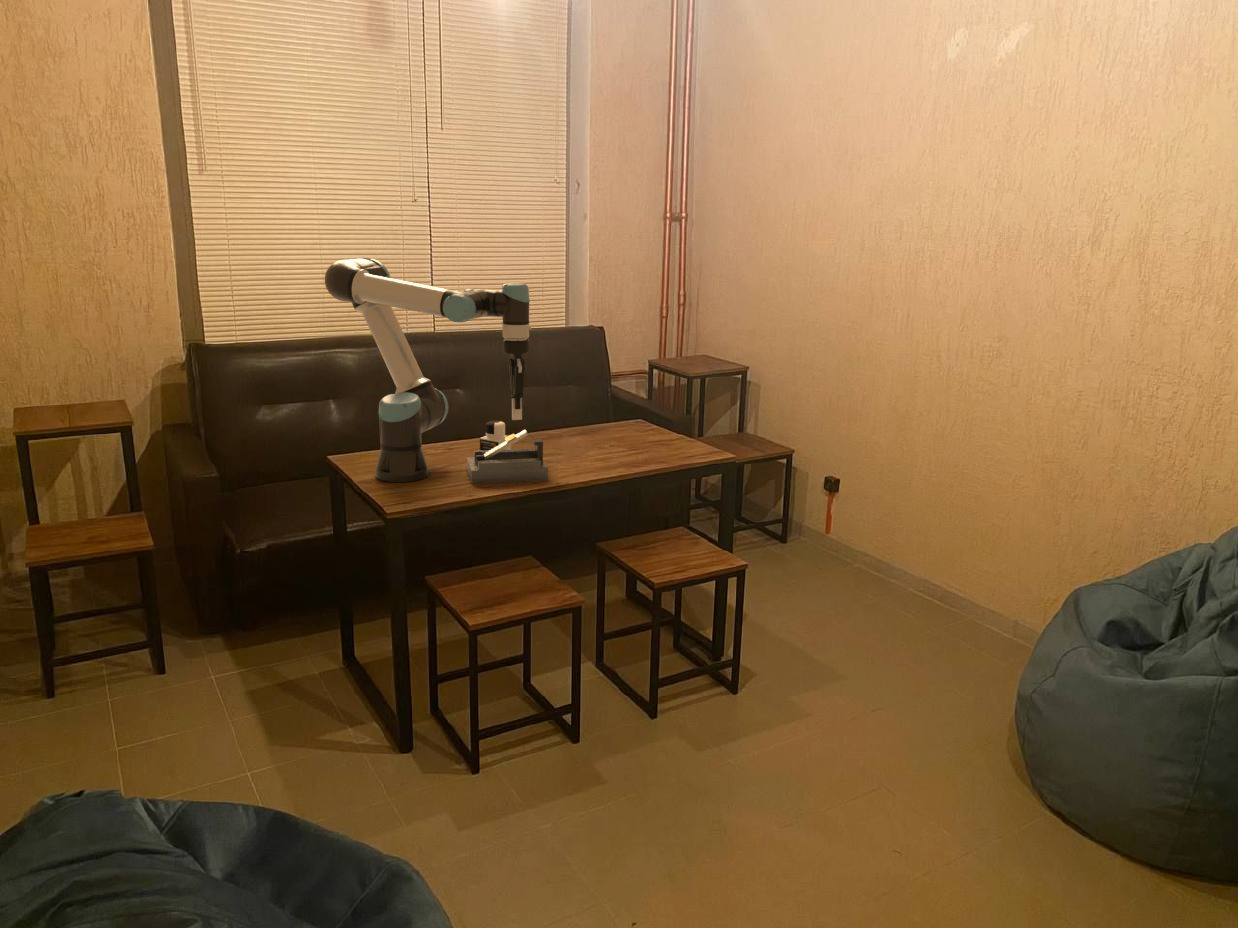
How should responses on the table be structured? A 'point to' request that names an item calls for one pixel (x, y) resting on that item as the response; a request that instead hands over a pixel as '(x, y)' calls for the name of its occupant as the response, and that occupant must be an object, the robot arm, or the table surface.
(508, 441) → the strap
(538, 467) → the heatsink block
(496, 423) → the medicine bottle
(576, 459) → the table surface
